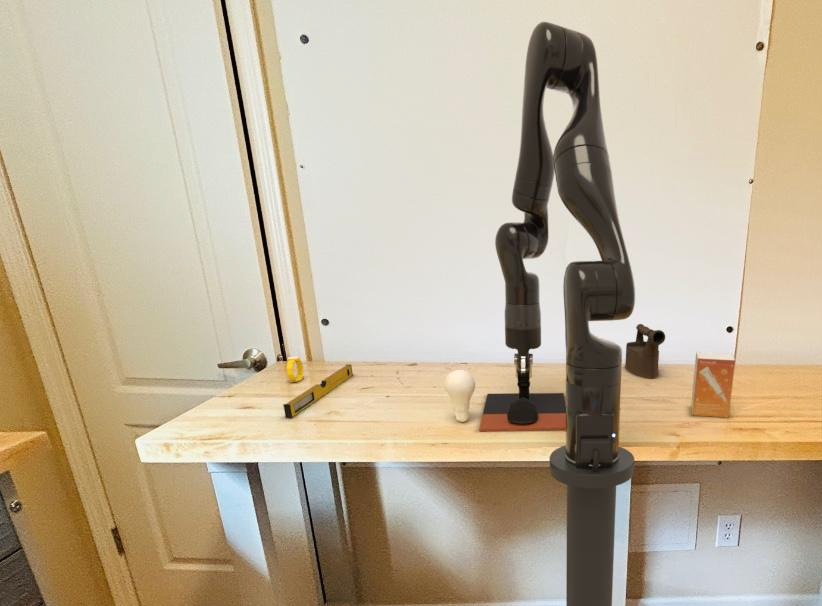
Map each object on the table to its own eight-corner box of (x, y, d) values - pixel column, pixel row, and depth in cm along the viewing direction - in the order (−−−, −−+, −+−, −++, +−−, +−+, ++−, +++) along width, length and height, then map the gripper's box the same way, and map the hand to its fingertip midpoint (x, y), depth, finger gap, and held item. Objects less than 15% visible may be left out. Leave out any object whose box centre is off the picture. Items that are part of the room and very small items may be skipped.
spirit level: (347, 375, 156) (346, 364, 155) (352, 375, 156) (351, 364, 155) (285, 418, 125) (283, 404, 124) (292, 418, 126) (289, 404, 124)
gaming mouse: (538, 403, 136) (537, 386, 135) (538, 426, 123) (537, 407, 121) (509, 403, 136) (509, 386, 134) (506, 426, 122) (506, 407, 121)
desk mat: (569, 430, 123) (569, 427, 123) (479, 431, 121) (479, 428, 121) (563, 395, 145) (563, 392, 145) (487, 395, 143) (487, 393, 143)
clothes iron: (640, 382, 157) (642, 330, 152) (624, 366, 171) (625, 319, 166) (669, 381, 159) (672, 330, 154) (650, 365, 173) (653, 318, 168)
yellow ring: (297, 384, 148) (293, 360, 146) (286, 384, 148) (281, 360, 146) (307, 377, 154) (303, 354, 151) (296, 377, 154) (292, 354, 151)
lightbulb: (483, 420, 127) (480, 369, 123) (463, 428, 122) (459, 375, 118) (461, 415, 130) (458, 365, 126) (441, 422, 125) (436, 371, 121)
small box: (692, 416, 133) (697, 357, 128) (690, 407, 139) (695, 351, 134) (729, 418, 132) (735, 359, 127) (726, 409, 138) (732, 352, 133)
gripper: (541, 331, 120) (541, 412, 127) (540, 318, 133) (541, 393, 139) (503, 330, 120) (505, 412, 127) (506, 317, 132) (508, 393, 139)
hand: (524, 402), depth 133 cm, fingers closed
